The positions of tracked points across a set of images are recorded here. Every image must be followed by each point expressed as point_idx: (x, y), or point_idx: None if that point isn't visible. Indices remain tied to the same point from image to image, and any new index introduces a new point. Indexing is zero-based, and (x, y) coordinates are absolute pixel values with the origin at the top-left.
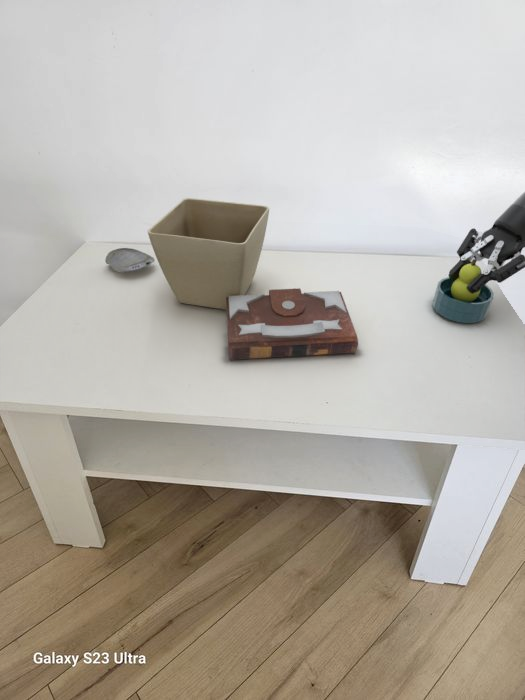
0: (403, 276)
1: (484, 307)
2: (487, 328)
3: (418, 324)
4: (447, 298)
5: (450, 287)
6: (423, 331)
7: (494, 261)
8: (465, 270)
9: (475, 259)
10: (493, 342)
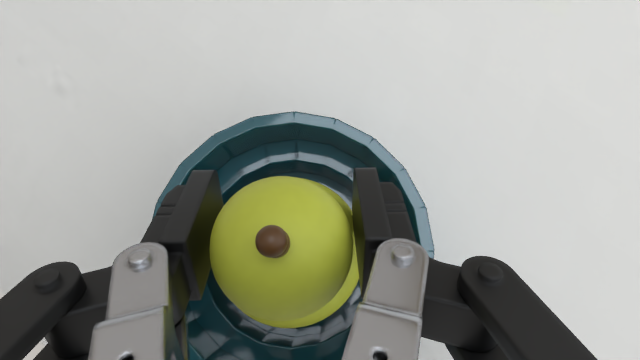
0: (618, 207)
1: None
2: None
3: (280, 50)
4: (265, 117)
5: None
6: (239, 41)
7: (93, 330)
8: (277, 182)
9: (267, 247)
10: (75, 227)
